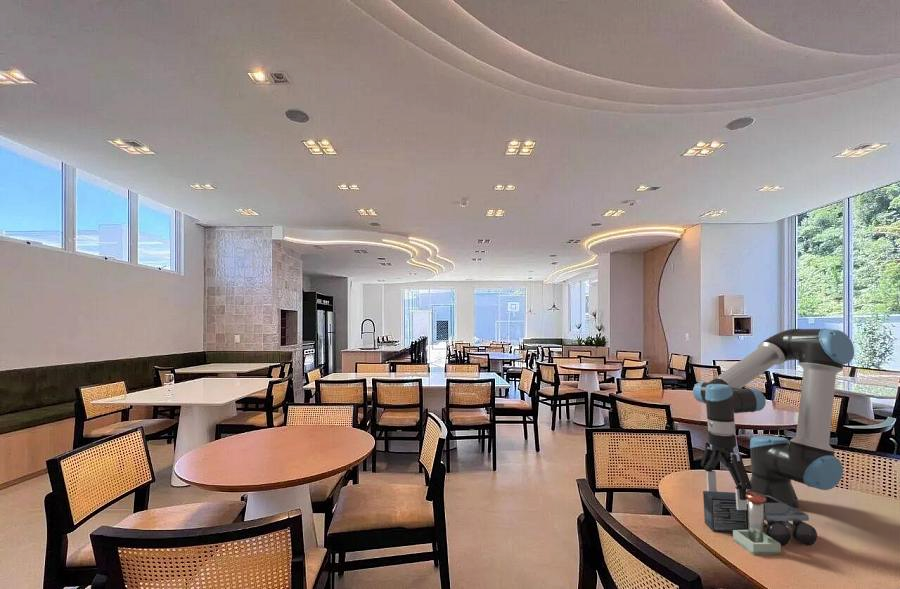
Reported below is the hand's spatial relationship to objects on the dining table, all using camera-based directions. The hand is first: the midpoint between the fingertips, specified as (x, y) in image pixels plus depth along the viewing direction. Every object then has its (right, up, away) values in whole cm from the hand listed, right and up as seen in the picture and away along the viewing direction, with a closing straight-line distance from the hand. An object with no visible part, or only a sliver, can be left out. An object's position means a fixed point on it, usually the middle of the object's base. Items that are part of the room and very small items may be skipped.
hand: (726, 500), depth 133 cm
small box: (-1, -9, -1) cm, 9 cm away
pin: (+1, -7, -12) cm, 14 cm away
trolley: (+12, -8, -5) cm, 16 cm away
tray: (+1, -8, -12) cm, 15 cm away
